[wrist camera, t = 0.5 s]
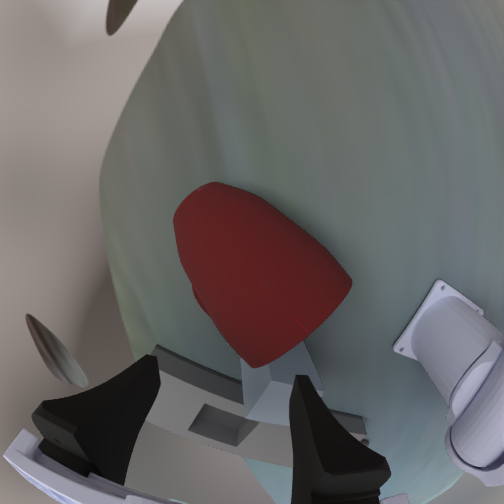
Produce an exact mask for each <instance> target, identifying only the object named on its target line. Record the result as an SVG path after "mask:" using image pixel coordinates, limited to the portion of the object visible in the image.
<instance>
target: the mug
mask: <svg viewBox="0 0 504 504" xmlns="http://www.w3.org/2000/svg"><path fill="white" fill-rule="evenodd" d="M173 224H174V231H175V237H176V243H177V249H178V253H179V257H180V261H181V264H182V266H183V268H184V270H185V272H186V274H187V276H188V278H189V280H190V282H191V283H192V289H193V293H194V296H195V298H196V300H197V302H198V303H199V305H200V306H201V308H202V309H203V310H204V311H205V312H206V313H207V314H208V315H209V316H210V317H211V319H212V320H213V322H214V324H215V325H216V327H217V328H218V330H219V332H220V333H221V334H222V336H223V337H224V338H225V340H226V341H227V342H228V343H229V344H230V346H231V347H232V348H233V349H234V350H235V351H236V352H237V353H238V355H239V356H240V357H241V358H242V359H243V360H244V361H245V362H246V363H247V364H248V365H249V366H250V367H251V368H259V367H262V366H265V365H267V364H269V363H271V362H272V361H274V360H276V359H278V358H279V357H281V356H282V355H284V354H285V353H287V352H288V351H290V350H291V349H292V348H294V347H295V346H296V345H298V344H299V343H300V342H301V341H303V340H304V339H305V338H306V337H307V336H309V335H310V334H311V333H312V332H313V331H314V330H315V329H317V328H318V327H319V326H320V325H321V324H322V323H323V322H324V321H325V320H326V319H327V318H328V317H329V316H330V315H331V314H332V313H333V311H334V310H335V309H336V308H337V307H338V306H339V304H340V303H341V302H342V301H343V299H344V298H345V297H346V295H347V294H348V292H349V290H350V288H351V286H352V279H351V278H350V276H349V275H348V274H347V273H346V271H345V270H344V269H343V268H342V267H341V265H340V264H339V263H338V262H337V261H336V259H335V258H334V257H333V256H332V255H331V254H330V253H329V252H328V251H327V249H326V248H325V247H324V246H322V245H321V244H320V243H319V242H318V241H317V240H315V239H314V238H313V237H312V236H311V235H309V234H308V233H307V232H305V231H304V230H303V229H302V228H300V227H299V226H298V225H297V224H295V223H294V222H293V221H291V220H290V219H289V218H287V217H286V216H285V215H284V214H282V213H281V212H280V211H278V210H277V209H276V208H274V207H273V206H272V205H270V204H269V203H268V202H266V201H265V200H263V199H262V198H260V197H259V196H257V195H255V194H252V193H250V192H247V191H245V190H242V189H239V188H236V187H232V186H229V185H226V184H223V183H219V182H211V183H208V184H205V185H203V186H201V187H199V188H198V189H196V190H195V191H193V192H192V193H191V194H190V195H188V196H187V197H186V198H185V199H184V200H183V201H182V203H181V204H180V205H179V207H178V208H177V210H176V212H175V214H174V218H173Z"/></svg>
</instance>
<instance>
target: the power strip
mask: <svg viewBox="0 0 504 504" xmlns="http://www.w3.org/2000/svg"><path fill="white" fill-rule="evenodd" d="M151 355H152V356H157V360H158V367H159V373H160V379H161V386H160V389H159V392H158V395H157V397H156V400H155V402H154V404H153V406H152V408H151V410H150V412H149V414H148V416H147V417H146V419H145V420H146V421H148V422H150V423H152V424H155V425H157V426H159V427H161V428H164V429H166V430H168V431H170V432H173V433H175V434H178V435H180V436H183V437H185V438H188V439H190V440H193V441H196V442H198V443H201V444H204V445H207V446H210V447H213V448H216V449H220V450H222V451H226V452H229V453H232V454H236V455H239V456H243V457H247V458H251V459H255V460H259V461H263V462H268V463H272V464H277V465H282V466H288V467H293V449H292V440H291V431H290V426H285V425H279V424H272V423H266V422H261V421H256V420H250V419H246V418H245V411H244V399H243V388H242V382H241V381H238V380H236V379H233V378H231V377H228V376H226V375H223V374H221V373H218V372H216V371H214V370H211V369H209V368H207V367H204V366H202V365H200V364H197V363H195V362H193V361H191V360H189V359H186V358H184V357H182V356H180V355H178V354H176V353H174V352H172V351H170V350H168V349H166V348H164V347H162V346H160V345H158V344H157V345H156V347H155V348H154V350H153V352H152V353H151ZM329 411H330V412H331V413H332V414H333V416H334V417H335V418H336V419H337V421H338V422H339V423H340V424H341V425H342V426H343V427H344V428H345V429H346V430H347V431H348V432H349V433H350V434H351V435H352V436H354V437H355V438H356V439H357V440H358V441H360V442H361V443H362V444H364V445H365V446H368V445H369V442H368V441H366V440H362V439H363V438H365V437H366V436H367V433H366V429H365V426H364V423H363V420H362V417H361V416H356V415H351V414H347V413H342V412H338V411H334V410H330V409H329Z"/></svg>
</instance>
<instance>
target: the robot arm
mask: <svg viewBox="0 0 504 504" xmlns="http://www.w3.org/2000/svg"><path fill="white" fill-rule="evenodd" d="M442 286H443V288H442V289H441V287H442ZM483 314H484V311H483V310H482V309H481V308H479V307H478V306H477V305H475V304H474V303H473V302H471V301H470V300H469V299H467V298H466V297H465V296H463V295H462V294H460V293H459V292H458V291H456V290H455V289H453V288H452V287H451V286H449V285H448V284H446V283H445V282H443V281H442V280H440V279H439V280H437V281H436V282H435V284H434V285H433V287H432V289H431V290H430V292H429V294H428V295H427V297H426V299H425V300H424V302H423V303H422V305H421V306H420V308H419V310H418V311H417V313H416V314H415V316H414V317H413V319H412V320H411V322H410V323H409V325H408V326H407V327H406V329H405V330H404V332H403V333H402V334H401V336H400V337H399V339H398V340H397V341H396V343H395V344H394V346H393V350H394V352H396V353H399V354H401V355H404V356H407V357H409V358H412V359H414V360H417V361H419V362H420V363H421V365H422V366H423V368H424V369H425V371H426V372H427V374H428V375H429V377H430V378H431V380H432V381H433V383H434V384H435V386H436V387H437V389H438V390H439V392H440V394H441V395H442V397H443V398H444V400H445V402H446V403H447V405H448V406H449V408H450V409H449V412H448V413H447V415H446V418H447V420H448V422H449V423H450V427H449V428H448V430H447V432H446V435H445V447H446V450H447V453H448V455H449V457H450V459H451V460H452V462H453V463H454V464H455V465H456V466H457V467H458V468H460V469H462V470H463V471H466V472H468V473H471V474H473V475H475V476H476V477H478V478H479V479H480V480H481V481H482V482H483V483H484V484H485V486H487V487H491V486H499V485H504V335H503V334H502V333H501V332H500V331H499V330H498V329H497V328H495V327H494V326H493V325H492V324H491V323H490V322H488V321H487V320H486V319H485V318H484V317H483ZM401 348H402V349H401ZM160 386H161V379H160V373H159V367H158V360H157V356H152V355H148V354H146V355H145V356H144V357H142V358H141V359H139V360H138V361H137V362H135V363H134V364H132V365H131V366H130V367H128V368H127V369H125V370H124V371H123V372H121V373H120V374H118V375H116V376H115V377H113V378H112V379H110V380H108V381H107V382H105V383H103V384H101V385H99V386H97V387H94V388H92V389H90V390H87V391H85V392H82V393H79V394H76V395H72V396H69V397H64V398H60V399H53V400H45V401H43V402H42V403H41V404H40V405H39V406H38V408H37V409H36V410H35V411H34V412H33V414H32V420H33V422H34V424H35V426H36V427H37V428H38V430H39V431H40V433H41V434H42V436H43V437H44V439H43V440H42V441H41V440H40V439H38V438H37V437H36V436H34V435H33V434H31V433H30V432H28V431H27V430H26V429H23V430H22V431H21V432H20V433H19V435H18V436H17V437H16V439H15V440H14V441H13V443H12V444H11V445H10V447H9V448H8V449H7V450H6V452H5V453H4V457H5V458H6V460H8V462H9V463H10V464H11V465H12V466H13V467H14V468H15V469H16V470H17V471H18V472H19V473H20V474H21V475H22V476H23V477H24V478H25V479H27V480H28V481H29V482H31V483H32V484H33V485H35V486H36V487H37V488H39V489H40V490H42V491H43V492H45V493H46V494H47V495H49V496H51V497H52V498H54V499H55V500H57V501H58V502H60V503H61V504H181V503H177V502H173V501H169V500H165V499H162V498H158V497H155V496H151V495H148V494H145V493H142V492H139V491H136V490H133V489H130V488H127V487H125V486H124V483H125V478H126V473H127V469H128V465H129V461H130V458H131V455H132V451H133V448H134V445H135V442H136V439H137V436H138V433H139V431H140V429H141V427H142V425H143V423H144V421H145V419H146V417H147V416H148V414H149V412H150V410H151V408H152V406H153V404H154V402H155V400H156V397H157V395H158V392H159V389H160ZM289 422H290V431H291V440H292V449H293V481H292V498H291V504H410V503H409V500H408V496H407V493H403V494H400V495H396V496H392V497H388V498H385V499H382V500H380V501H379V498H378V496H379V495H380V489H379V488H380V487H381V486H382V485H383V484H384V483H385V482H386V481H387V480H388V479H389V478H390V476H391V471H390V467H389V465H388V462H387V460H386V458H385V457H384V456H382V455H380V454H378V453H376V452H375V451H373V450H371V449H370V448H368V447H367V446H365V445H364V444H362V443H361V442H360V441H358V440H357V439H356V438H355V437H354V436H352V435H351V434H350V433H349V432H348V431H347V430H346V429H345V428H344V427H343V426H342V425H341V424H340V423H339V422H338V421H337V419H336V418H335V417H334V416H333V414H332V413H331V412H330V411H329V409H328V408H327V406H326V405H325V403H324V402H323V400H322V399H321V397H320V396H319V394H318V392H317V391H316V389H315V387H314V385H313V384H312V382H311V380H310V378H309V376H308V375H295V379H294V384H293V388H292V392H291V396H290V400H289Z"/></svg>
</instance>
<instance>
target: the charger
mask: <svg viewBox="0 0 504 504" xmlns="http://www.w3.org/2000/svg"><path fill="white" fill-rule="evenodd" d="M240 363H241V375H242V388H243V399H244V411H245V418H246V419H250V420H256V421H261V422H266V423H272V424H279V425H285V426H290V422H289V400H290V396H291V392H292V388H293V384H294V379H295V375H308V376H309V378H310V380H311V382H312V384H313V385H314V387H315V389H316V391H317V392H318V394H319V396H320V397H322V395H323V394H324V393H325V389H324V387H323V385H322V382H321V380H320V378H319V376H318V373H317V371H316V369H315V366H314V364H313V362H312V359H311V357H310V355H309V353H308V350H307V348H306V346H305V343H304V341H301V342H300V343H299V344H298V345H296V346H295V347H294V348H292V349H291V350H290V351H288V352H287V353H285V354H284V355H282V356H281V357H279V358H278V359H276V360H274V361H272V362H271V363H269V364H267V365H265V366H262V367H259V368H251V367H250V366H249V365H248V364H247V363H246V362H245V361H244V360H243V359H242V358H240Z"/></svg>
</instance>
